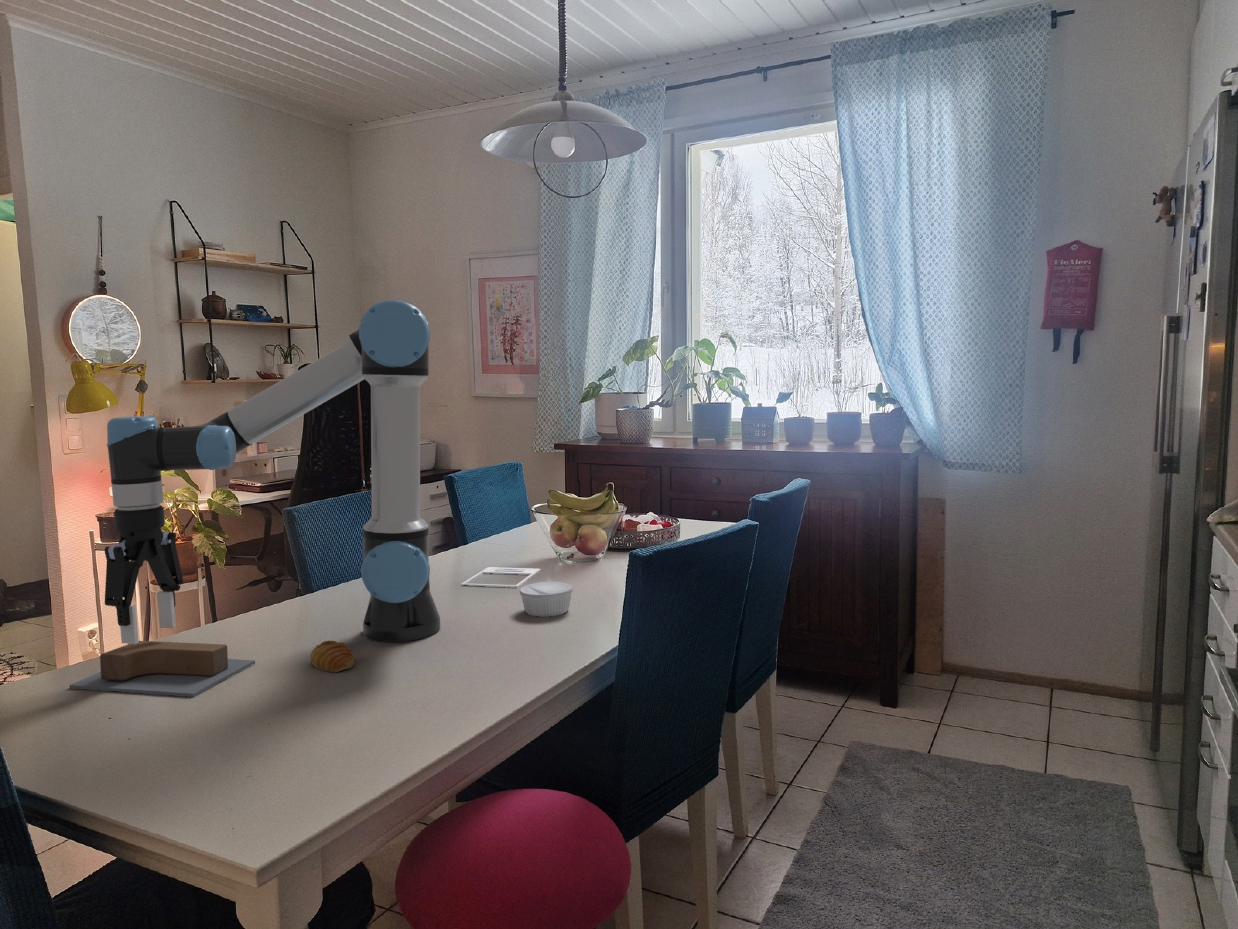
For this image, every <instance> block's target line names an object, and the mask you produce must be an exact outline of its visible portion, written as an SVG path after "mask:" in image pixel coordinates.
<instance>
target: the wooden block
mask: <svg viewBox="0 0 1238 929" xmlns="http://www.w3.org/2000/svg"><path fill="white" fill-rule="evenodd" d="M228 656H229V655H228V645H227V644H225V643H224V644H222V643H221V644H220V643H217V644H216V643H199V642H196V643H195V642H177V641H176V642H174V641H157V640H155V641H152V640H139V643H136V644H126V645H125V644H124V645H123V646H119V647H117V648H115V649H112V650H109V651H105V652H103V653H101V654H100V655H99V659H100V660H99V661H100V665H99V666H100V672H101V679H103V680H122V681H124V680H127V679H130V678H133V677H136V676H141V675H147V674H181V675H201V676H213V675H216V674H218V673H220V672H222V671H224V670H226V669H227V668H228V659H229V657H228Z"/></svg>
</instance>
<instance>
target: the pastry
mask: <svg viewBox="0 0 1238 929" xmlns="http://www.w3.org/2000/svg"><path fill="white" fill-rule="evenodd" d="M309 658H310V662H311V664H312V666H314V668H316V669H318V670H321V671H324V672H328V673H338V672H341V671H344V670H347V669H352V667H353V665H354V664H355V656H354V655H353V652H352V650H351V649H350V647H349V646H348V645H347V644H345V643H343V642H337V641H336V640H324V641H322V642H321V643H320V644H317V645H316V646H315V647H314V648H313V650H312V651H311V653H310V657H309Z"/></svg>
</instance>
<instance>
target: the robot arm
mask: <svg viewBox="0 0 1238 929" xmlns="http://www.w3.org/2000/svg"><path fill="white" fill-rule="evenodd" d="M430 335H431V332H430V325H429V323H428V320H427V318H426V317H425V315H424V314H423V312H422V311H421V310H420V309H419V308H418V307H417V306H415V305H413V304H412V303H410V302H408V301H405V300H401V299H400V300H399V299H385V300H382V301H378V302H377V303H375V304H373V305H372V306H371V307H370V308H368V309H367V311H366V312H365V313H364V315H363V317H362V318H361V320H360V325H359V328H358V329H356V330H355V331H353V332H352V333H350V334H349V335H347V336H346V340H345V343H343V344H341V345H340V346H338V347H337V348H335V349H333V350H332V351H329V352H328V353H326V354H325V355H322V356H321V357H320V358H318V359H316V360H314V361H313V362H311V363H309V364H307V365H306V366H304V367H302V368H300V369H298V370H297V371H295V372H293V373H292V374H290V375H288V376H285V378H283V379H281V380H280V381H278V382H276V383H275V384H273V385H271V386H269V387H267V388H265V389H264V390H262V391H261V392H258V393H257V394H255V395H254V396H251V397H250V398H248V399H247V400H245V401H243V402H242V403H240V404H238V405H236V406H235V407H233V408H231V409H229V410H228V411H226V412H224V413H221V414H220V415H218V416H216V417H215V418H213V419H211V420H210V421H208V422H206V423H203V424H199V425H194V426H177V427H165V426H164V427H163V426H159V424H158V421H157V418H156V417H155V416H150V415H149V416H144V415H143V416H140V415H139V416H123V417H122V416H119V417H118V416H117V417H113V418H111V419H109V421H108V422H107V424H106V431H107V432H106V433H107V436H106V438H107V443H106V447H107V453H108V461H109V462H108V463H109V471H110V480H111V481H110V482H111V492H112V493H111V495H112V505H113V506H114V507H115V508H116V509H115V510H114V511H113V518H114V520H113V521H114V529H115V530H116V531H117V532H118V533H119V540H118V543H117V544H115V545H113V546H108V545H107V546H105V547H104V554H105V558H106V559H105V560H106V568H105V590H104V605H105V606H108V607H115V609H116V617H117V625H118V626H119V628H120V640H121V644H126V645H128V644H136V643H139V641H140V640H139V630H138V618H137V608H136V606H137V605H135V604H132V602H133V597H134V594H135V589H136V585H137V581H138V576H139V572H140V568H142V567H143V565H144V562H145V561H146V562H147V564H148V566H149V567H150V570H151V572H152V575H153V577H154V578H155V581H156V582H157V584H158V587H159V589H160V590H161V591H160V590H159V591H157V592H156V598H157V608H158V619H159V621H158V622H159V628H160V629H174V628H176V627H177V624H176V612H175V611H176V610H175V607H176V603H177V602H176V596H175V595H176V594H175V593H176V592H178V591H179V590H180V589H181V585H183V583H184V578H183V573H182V568H181V564H180V559H179V554H178V551H177V550H178V549H177V546H176V543H177V542H176V540H177V533H176V532H174V531H173V532H171V531H170V532H169V531H167V532H166V531H163V530H162V528H164V526H165V525H166V520H165V518H166V517H165V508H164V507H163V505H161V504H162V503H163V502H164V492H163V483H162V482H163V481H162V472H163V471H164V472H170V471H195V470H210V471H215V470H218V469H228V468H231V467H232V466H234V464H235V461H236V457H237V454H238V453H240V452H242V451H244V450H245V449H246V448H248V447H249V446H251V445H253V444H255V443H256V442H258V441H260V440H262V439H264V438H265V437H267V436H269V435H270V434H272V433H273V432H276V431H278V430H279V429H281V428H282V427H284V426H286V425H288V424H290V423H292V422H293V421H294V420H296V419H298V418H299V417H301V416H303V415H305V414H307V413H308V412H310V411H313V409H316V408H317V407H318V406H321V405H322V404H323V403H326V402H328V401H329V400H331V399H332V398H334V397H336V396H338V395H339V394H341V393H344V392H345V391H346V390H349V389H350V388H351V387H353V386H355V385H357V384H358V383H360V382H362V381H364V380H365V381H366V382H367V383H368V384H369V386H370V425H371V426H370V430H371V431H370V435H371V437H370V439H371V440H370V442H371V443H370V445H371V446H370V448H371V451H370V452H371V453H370V454H371V459H370V460H371V517H370V518H369V520H368V521H367V522H366V523H364V525H363V527H362V531H363V532H362V535H363V536H362V539H363V540H362V542H363V543H362V545H363V547H362V550H363V551H362V556H363V559H362V563H361V566H360V577H361V580H362V583H363V585H364V587H365V588H366V590H367V591H368V592H369V595H370V597H369V601H368V604H367V608H366V612H365V616H364V618H363V622H362V631H363V632H362V634H363V637H364V638H366V640H370V641H374V642H381V643H400V642H408V641H409V642H411V641H416V640H420V639H424V638H427V637H430V636H432V635H434V634H436V633H438V632H439V631H440V630H441V618H440V614H439V611H438V609H437V606H436V603H435V601H434V599H433V598H434V597H433V595H432V593H431V586H430V584H431V583H430V574H431V573H430V572H431V571H430V570H431V568H430V563H429V556H430V555H429V553H430V552H429V550H430V549H429V548H430V547H429V545H430V544H429V523H427V521H426V520H425V519H424V518H422V516H421V386H422V385H423V384H424V383H425V382H426V380H428V379H429V350H430V349H429V348H430V347H429V343H430V337H431V336H430ZM175 591H176V592H175Z"/></svg>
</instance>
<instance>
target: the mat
mask: <svg viewBox="0 0 1238 929" xmlns="http://www.w3.org/2000/svg"><path fill="white" fill-rule="evenodd" d="M252 664H254V665H255V664H256V660H253V659H237V658H228V668H227V669H226V670H224V671H222V672H220V673H218V674H216V675H213V676H201V675H181V674H147V675H141V676H136V677H133V678H130V679H127V680H124V681H122V680H103V679H101V671H99V672H97V673H94V674H92V675H90V676H87V677H84V678H83V679H80V680H78V681H76V682H74V683H71V684H69V689H73V690H82V689H85V690H84V691H97V690H99V691H98V692H111V691H119V692H118V693H125V692H130V693H129V694H140V693H142V695H143V694H144V695H155V696H157V695H158V696H168V695H174V696H173V697H183V698H195V697H197V696H199V695H200V694H202V693H204V692H207V691H208V690H209V688H210V689H212V688H214V687H215V686H216V685H215V684H217V685H219V684H220V683H219V682H221V681H222V682H224V681H226V680H228V679H230V678H231V676H232V675H233V676H235V675H237V674H239V673H241V672H243V671H244V670H246V669H248V668H250V667H251V665H252ZM252 666H253V665H252ZM247 667H248V668H247ZM245 668H246V669H245ZM242 670H243V671H242ZM240 671H241V672H240ZM238 672H239V673H238ZM236 673H237V674H236ZM234 674H235V675H234ZM233 676H232V677H233ZM229 677H230V678H229ZM227 678H228V679H227ZM225 679H226V680H225ZM222 682H221V683H222ZM218 683H219V684H218ZM214 685H215V686H214ZM86 689H88V690H86ZM207 689H208V690H207ZM100 690H101V691H100ZM120 691H122V692H120ZM203 691H204V692H203ZM196 695H197V696H196ZM185 696H187V697H185Z"/></svg>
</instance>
